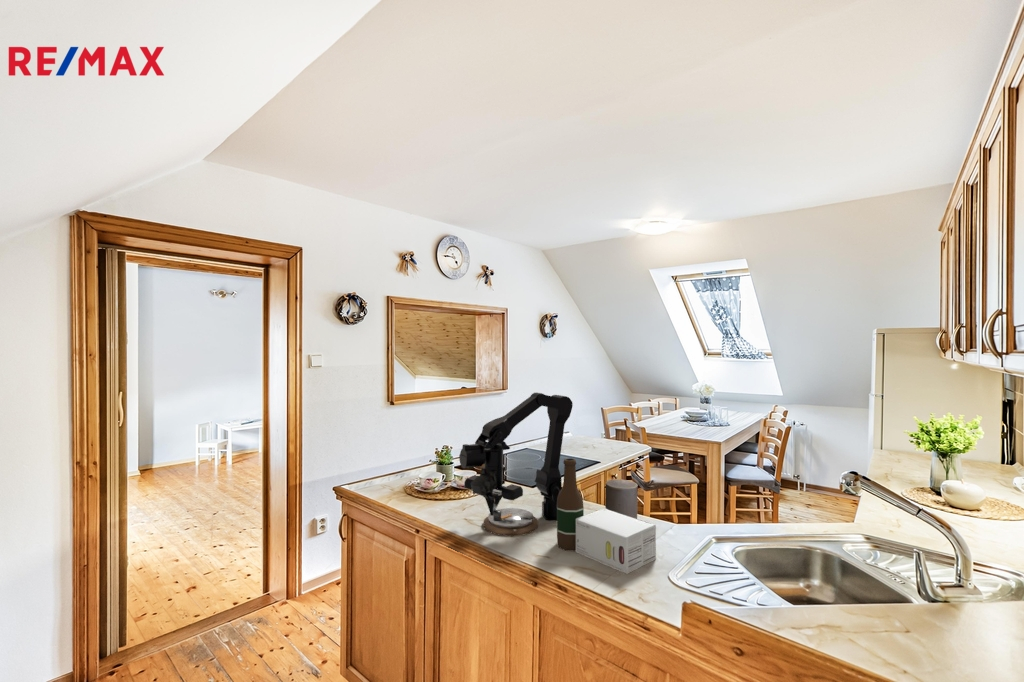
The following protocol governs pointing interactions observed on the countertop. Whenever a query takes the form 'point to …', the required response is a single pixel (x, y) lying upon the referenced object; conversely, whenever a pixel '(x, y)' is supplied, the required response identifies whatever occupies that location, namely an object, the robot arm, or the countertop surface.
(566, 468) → the beer bottle
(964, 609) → the countertop surface
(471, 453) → the robot arm
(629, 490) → the pillar candle
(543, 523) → the countertop surface
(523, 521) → the dial
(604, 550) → the supplement box
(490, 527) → the stand
